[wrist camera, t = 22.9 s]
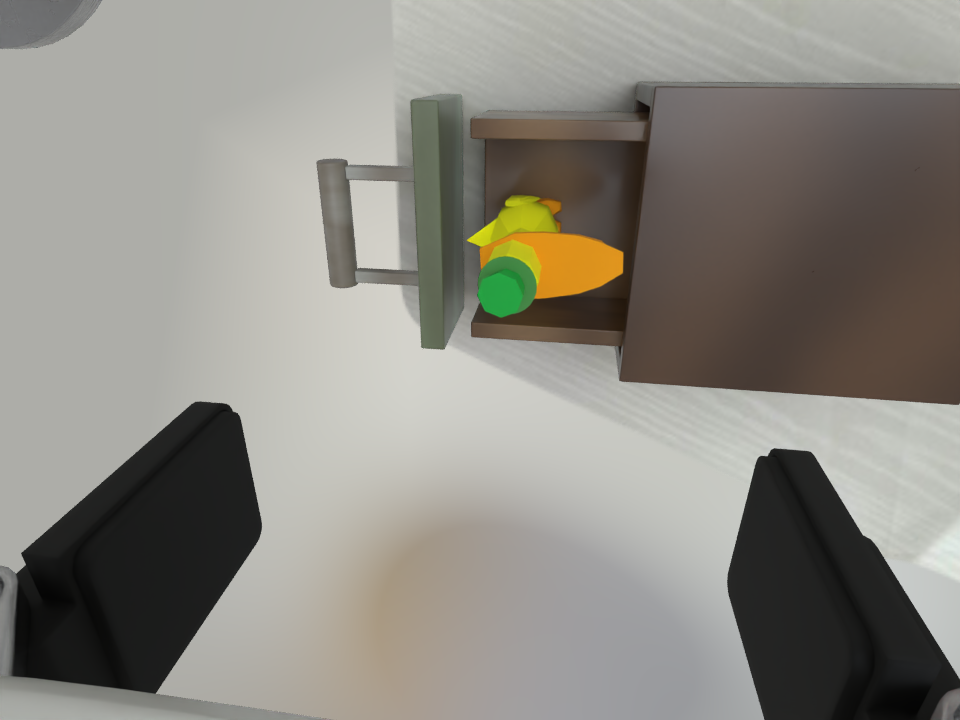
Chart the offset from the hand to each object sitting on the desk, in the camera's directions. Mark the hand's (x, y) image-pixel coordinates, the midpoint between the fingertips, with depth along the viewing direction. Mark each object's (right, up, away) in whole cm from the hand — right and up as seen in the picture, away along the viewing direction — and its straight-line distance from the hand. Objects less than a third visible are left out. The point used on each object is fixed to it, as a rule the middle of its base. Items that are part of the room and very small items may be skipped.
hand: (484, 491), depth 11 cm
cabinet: (+15, +10, +20) cm, 27 cm away
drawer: (+2, +10, +21) cm, 23 cm away
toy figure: (+3, +10, +20) cm, 22 cm away
